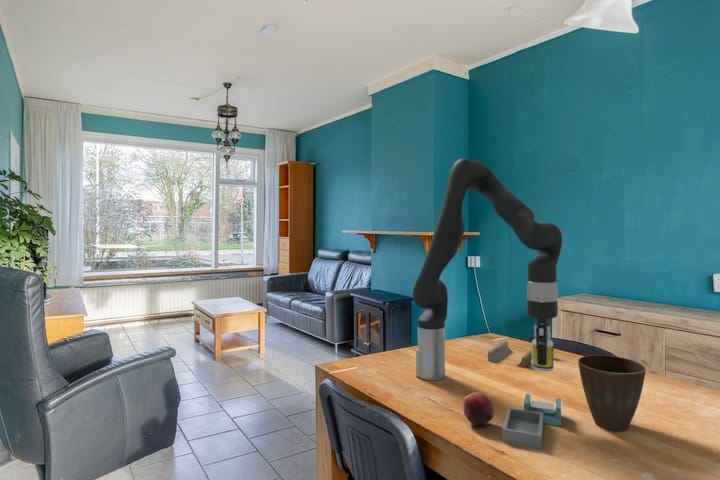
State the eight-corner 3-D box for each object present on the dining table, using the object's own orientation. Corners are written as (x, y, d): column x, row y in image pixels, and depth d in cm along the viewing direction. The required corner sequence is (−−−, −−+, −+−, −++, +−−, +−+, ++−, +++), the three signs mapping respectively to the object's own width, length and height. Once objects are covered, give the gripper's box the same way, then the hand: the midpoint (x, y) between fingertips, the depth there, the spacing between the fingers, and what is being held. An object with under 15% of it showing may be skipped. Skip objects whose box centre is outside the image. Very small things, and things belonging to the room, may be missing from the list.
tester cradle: (523, 419, 114) (523, 403, 114) (525, 409, 121) (525, 393, 121) (561, 426, 111) (560, 408, 111) (560, 415, 117) (560, 398, 117)
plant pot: (618, 444, 101) (618, 376, 101) (565, 418, 115) (565, 359, 114) (659, 431, 107) (659, 367, 107) (603, 408, 121) (604, 352, 120)
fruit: (492, 419, 115) (492, 389, 115) (495, 432, 108) (495, 401, 107) (463, 416, 117) (462, 387, 117) (463, 429, 109) (463, 398, 109)
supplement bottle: (555, 372, 112) (555, 334, 112) (533, 371, 113) (533, 334, 113) (551, 365, 118) (550, 330, 117) (529, 364, 119) (529, 329, 118)
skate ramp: (497, 346, 187) (497, 329, 187) (587, 360, 166) (587, 341, 166) (470, 364, 163) (470, 344, 163) (571, 383, 142) (572, 360, 142)
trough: (502, 441, 103) (502, 429, 103) (508, 418, 115) (508, 407, 115) (541, 448, 99) (541, 436, 99) (543, 424, 112) (543, 412, 112)
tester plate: (530, 410, 115) (530, 406, 115) (531, 404, 119) (531, 400, 119) (553, 413, 113) (553, 410, 112) (554, 407, 117) (554, 403, 116)
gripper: (528, 293, 123) (529, 352, 123) (525, 301, 110) (525, 367, 110) (557, 295, 120) (557, 355, 120) (557, 303, 107) (557, 371, 107)
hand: (542, 361), depth 115 cm, fingers closed on supplement bottle, 5 cm apart
